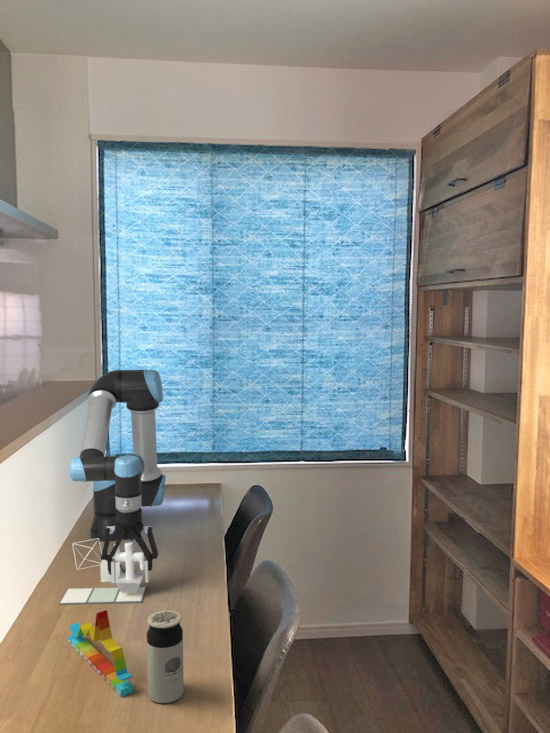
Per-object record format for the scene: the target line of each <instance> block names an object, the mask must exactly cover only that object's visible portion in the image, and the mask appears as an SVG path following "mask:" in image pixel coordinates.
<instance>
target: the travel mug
mask: <svg viewBox="0 0 550 733" xmlns="http://www.w3.org/2000/svg"><path fill="white" fill-rule="evenodd" d="M181 621H182V615H181V614H180V613H179V612H178V611H174V610H169V609H168V610H159V611H156V612H154V613H152V614H150V615H149V616H148V618H147V624H148V626H149V628H148V629H147V631H146V656H147V657H146V660H147V661H146V663H147V664H146V665H147V697H148V698H149V699H150V700H151V701H153V702H154V703H159V704H168V703H169V704H170V703H172V702H175V701H176V700H179V699H180V698H182V696H183V695H184V690H185V689H184V686H185V685H184V680H185V679H184V630H183V628H182V626H181Z"/></svg>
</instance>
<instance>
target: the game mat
mask: <svg viewBox="0 0 550 733" xmlns="http://www.w3.org/2000/svg"><path fill="white" fill-rule="evenodd" d="M146 592H147V586H139V588H138V590H137V592H136V593H121V591H120V589H119V588H118V586H116V587H114V586H113V587H84V588H83V587H81V588H80V587H78V588H76V587H75V588H67V589H66V591H65V593H64V594H63V595H62V597H61V600H60V601H59V603H58V605H59V606H60V605H63V606H65V605H95V604H96V605H101V604H104V605H105V604H106V605H107V604H138V603H139V604H142V603H143V600H144V597H145V594H146Z"/></svg>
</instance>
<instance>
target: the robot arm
mask: <svg viewBox="0 0 550 733" xmlns="http://www.w3.org/2000/svg"><path fill="white" fill-rule="evenodd" d="M163 400H164V394H163V383H162V378H161V375H160V373H159V372H158V371H157V370H155V369H146V368H145V369H114V370H110V371H108V372H106V373H104V374H102V375H101V376H100V377H99V378H98V379H97V380H96V381H95V382H94V384H93V385H92V386H91V388H90V390H89V393H88V395H87V404H88V405H89V407H88V412H87V417H86V421H85V422H86V423H85V428H84V432H83V437H82V443H81V448H80V453H79V456H74V457H73V456H72V458H71V459H70V462H69V476H70V478H71V480H72V481H73V482H82V483H86V482H93V489H92V492H93V511H94V512H93V519H92V522H91V525H90V529H89V537H90V539H94V540H95V541H97V540H98V542H99V541H100V542H101V541H102V542H104V543H103V546H102V550H101V551H102V554H101V555H100V559H101V560H106V561H107V563H108V572H111V582H110V583H111V584H115V583H116V582H115V580H116V569H115V560H114V559H112V558H113V556H114V554H115V552H116V550H117V548H118V546H119V547H120V544H121V543H122V541H123V540H124V541H127V540H133V541H134V540H135V542H136V543H137V544H138V546H139V548H140V550H141V552H143V553H144V555H145V557H146V560H145V570H144V578H145V579H144V580H145V583H149V580H150V572H151V571H152V570H153V566H154V565H153V560H156V559H158V556H159V551H158V548H157V543H156V540H155V537H154V534H153V531H154V530H153V528H154V526H153V524H149V525H144V523H143V514H142V513H143V512H142V511H143V509H142V508H144V507H150V508H152V507H158V506H159V507H160V506H161V505H163V503H164V497H165V496H164V494H165V487H166V486H165V485H166V475H165V474H163V473H162V470H161V469H160V467H159V466H158V453H157V452H158V450H157V448H158V447H157V428H156V425H157V424H156V410H157V409H158V408H159V406H160V403H162V402H163ZM117 403H119V404H121V403H123V404H124V403H125V404H126V409H127V410H128V411H130V416H131V418H130V419H131V436H132V452H130V453H127V454H126V455H125V454H124V455H111V456H110V455H108V456H107V455H106V451H107V445H108V444H107V443H108V436H109V431H110V423H111V418H112V413H113V412H112V411H113V409H114V408H115V406H116V405H117ZM143 530H144V533H145V534H147V538H148V542H149V547H150V548H149V547H148V546H147V543H146V541H145V540H144V537H143V535H142V534H141V533H142V531H143ZM97 538H99V539H97ZM113 541H116V542H115V543H114V544H115V545H114V544H113V546H114V547H113V546H112V547H113V548H112V549H111V551H110V553H109V554H108V550H109V546H110V542H113Z"/></svg>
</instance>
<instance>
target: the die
mask: <svg viewBox="0 0 550 733" xmlns="http://www.w3.org/2000/svg"><path fill="white" fill-rule="evenodd" d="M112 559H114V556H113V558H112ZM101 560H102V559H101ZM99 567H100V582H101V583H108V582H109V583H112V582H111V572H108V563H107V561H106V560H102V561H101V562H100V563H99ZM115 569H116V580H115V582H114V583H116V581H117V579H118V577H119V575H120V574H121V573H125V572H124V571H125V570H124V562H117V561H115Z"/></svg>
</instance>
